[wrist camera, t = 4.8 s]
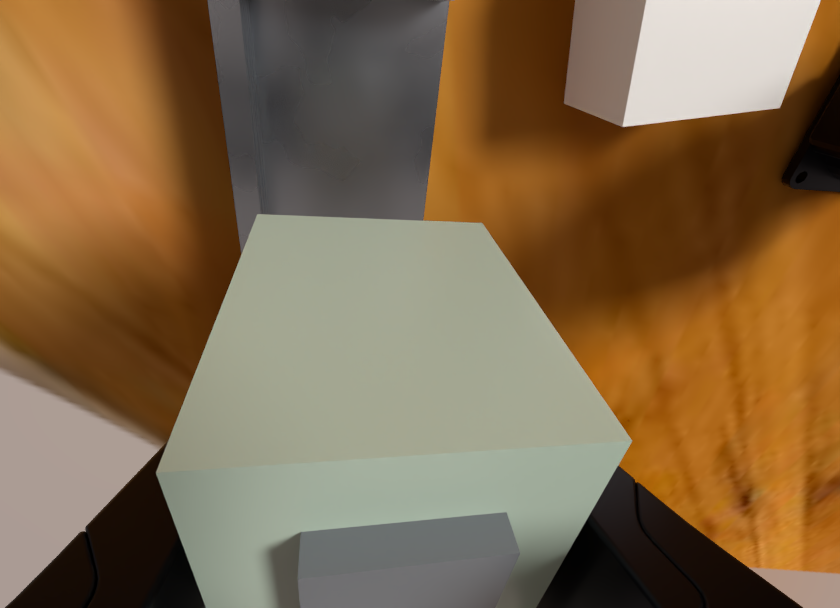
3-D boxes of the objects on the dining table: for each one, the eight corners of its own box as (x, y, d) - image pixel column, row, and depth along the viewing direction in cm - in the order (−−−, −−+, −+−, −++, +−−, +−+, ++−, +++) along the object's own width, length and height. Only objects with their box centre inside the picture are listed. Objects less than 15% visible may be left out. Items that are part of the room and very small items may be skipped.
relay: (736, -92, 13) (868, -125, 10) (689, 88, 16) (779, 108, 13) (581, -80, 13) (667, -112, 9) (562, 103, 16) (622, 126, 12)
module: (482, 222, 8) (658, 479, 4) (439, 435, 11) (505, 705, 7) (257, 213, 7) (136, 523, 3) (281, 444, 11) (242, 754, 6)
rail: (462, -216, 11) (506, -295, 8) (395, 404, 23) (403, 459, 20) (202, -279, 10) (147, -399, 7) (276, 410, 22) (267, 469, 19)
